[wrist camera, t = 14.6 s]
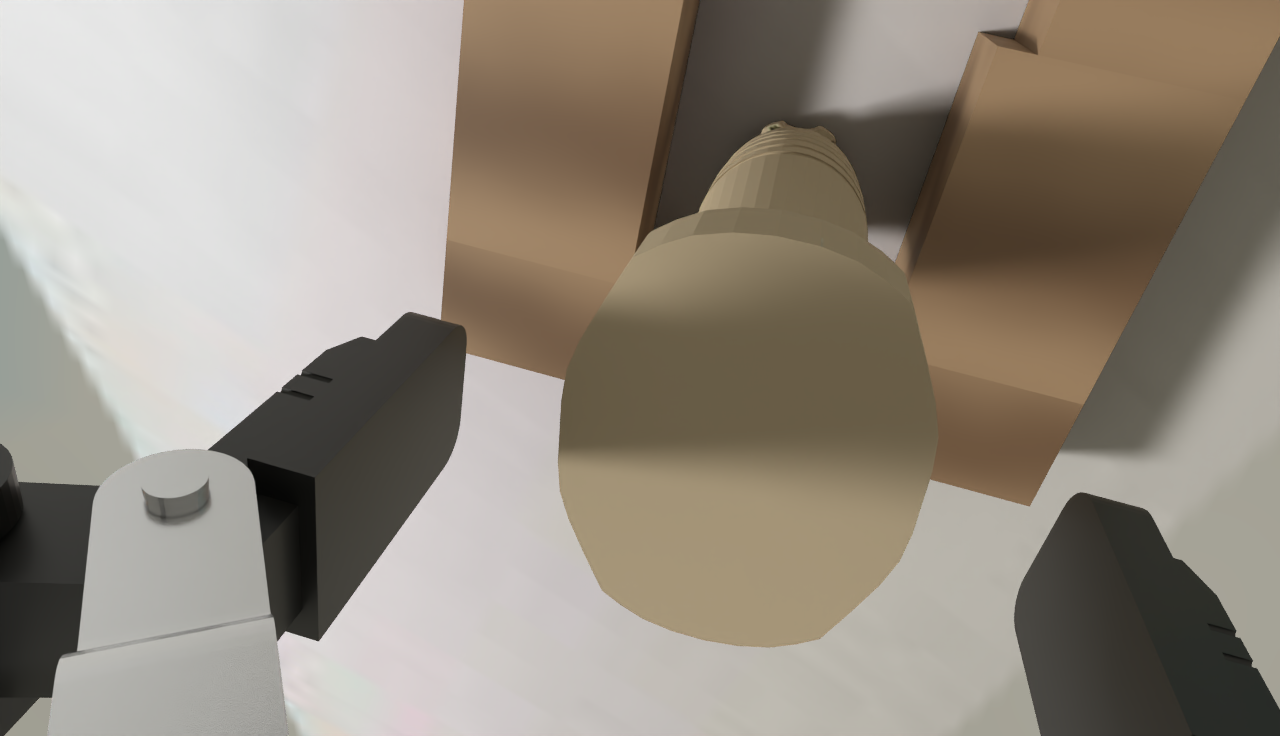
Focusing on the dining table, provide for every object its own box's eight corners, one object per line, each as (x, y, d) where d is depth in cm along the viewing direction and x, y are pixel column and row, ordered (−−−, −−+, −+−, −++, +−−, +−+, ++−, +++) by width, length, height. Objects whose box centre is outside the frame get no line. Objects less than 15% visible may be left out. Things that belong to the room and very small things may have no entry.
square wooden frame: (565, -631, 17) (510, -742, 15) (1478, -492, 16) (1620, -585, 13) (475, 307, 28) (434, 350, 25) (1011, 449, 27) (1031, 512, 24)
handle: (904, 68, 22) (996, 270, 9) (852, 290, 25) (866, 677, 12) (724, 45, 23) (571, 203, 10) (695, 264, 26) (550, 605, 13)
